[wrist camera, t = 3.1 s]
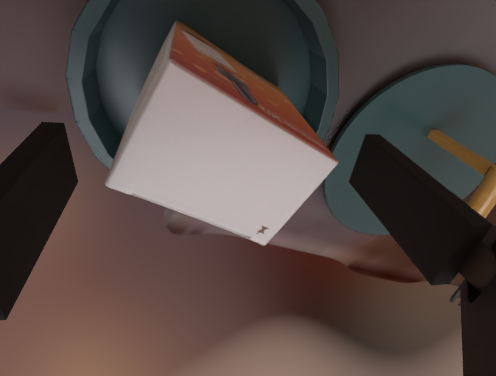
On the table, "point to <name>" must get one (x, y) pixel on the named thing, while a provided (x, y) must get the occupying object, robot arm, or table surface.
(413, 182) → the robot arm
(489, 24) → the table surface
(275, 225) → the small box
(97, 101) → the tin
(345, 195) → the tin lid
